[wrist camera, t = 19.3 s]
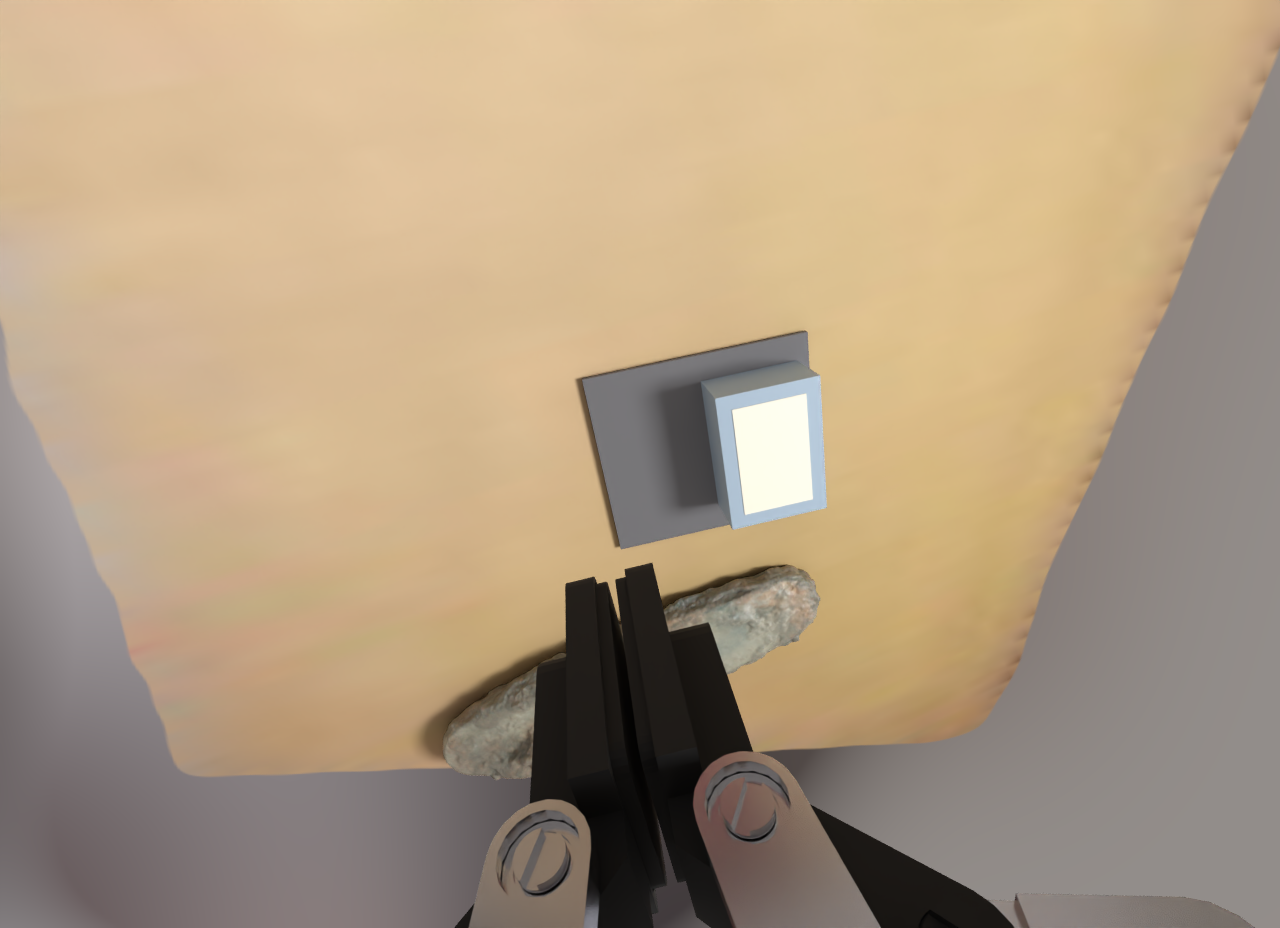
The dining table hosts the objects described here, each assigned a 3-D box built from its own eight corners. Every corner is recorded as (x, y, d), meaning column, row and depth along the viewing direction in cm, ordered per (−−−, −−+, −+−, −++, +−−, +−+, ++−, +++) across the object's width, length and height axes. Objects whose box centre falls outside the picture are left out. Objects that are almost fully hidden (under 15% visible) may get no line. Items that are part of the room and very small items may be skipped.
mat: (581, 378, 40) (581, 380, 39) (805, 330, 40) (807, 332, 40) (620, 546, 46) (620, 549, 45) (814, 502, 46) (816, 504, 46)
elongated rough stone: (818, 609, 53) (782, 524, 50) (846, 645, 48) (809, 554, 45) (482, 779, 54) (421, 708, 50) (476, 832, 49) (409, 758, 45)
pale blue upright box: (715, 399, 37) (820, 375, 37) (700, 381, 40) (796, 360, 41) (732, 530, 41) (827, 508, 41) (718, 503, 45) (804, 483, 45)
